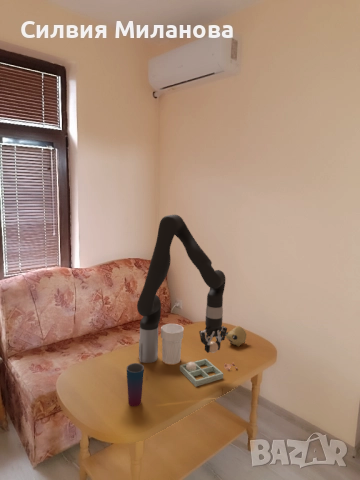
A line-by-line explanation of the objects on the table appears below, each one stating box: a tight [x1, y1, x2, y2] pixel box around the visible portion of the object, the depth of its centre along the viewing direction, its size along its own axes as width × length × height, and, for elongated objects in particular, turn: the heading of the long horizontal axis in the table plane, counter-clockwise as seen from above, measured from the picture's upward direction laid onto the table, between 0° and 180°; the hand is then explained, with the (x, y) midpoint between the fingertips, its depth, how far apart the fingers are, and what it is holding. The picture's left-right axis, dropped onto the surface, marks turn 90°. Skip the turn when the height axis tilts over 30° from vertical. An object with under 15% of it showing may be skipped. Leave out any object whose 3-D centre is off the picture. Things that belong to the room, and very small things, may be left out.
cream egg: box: [186, 361, 197, 372], centre depth 151 cm, size 5×5×5 cm
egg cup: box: [223, 362, 238, 372], centre depth 157 cm, size 6×6×2 cm
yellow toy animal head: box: [225, 325, 247, 347], centre depth 181 cm, size 10×12×11 cm
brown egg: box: [209, 340, 219, 354], centre depth 147 cm, size 5×5×5 cm
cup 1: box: [126, 362, 145, 407], centre depth 128 cm, size 7×7×15 cm
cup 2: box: [160, 323, 185, 366], centre depth 161 cm, size 11×11×17 cm
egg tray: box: [179, 358, 224, 387], centre depth 150 cm, size 15×15×3 cm
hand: (212, 350), depth 147 cm, fingers closed on brown egg, 5 cm apart
